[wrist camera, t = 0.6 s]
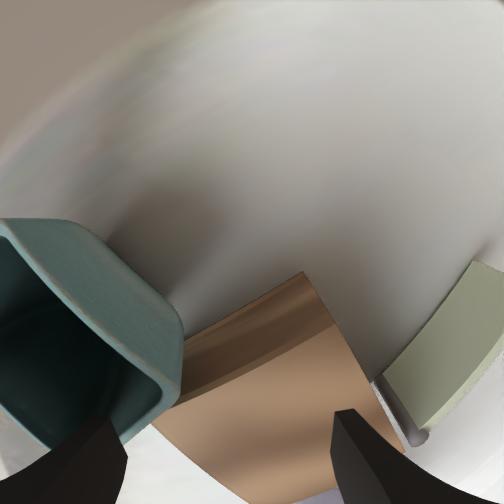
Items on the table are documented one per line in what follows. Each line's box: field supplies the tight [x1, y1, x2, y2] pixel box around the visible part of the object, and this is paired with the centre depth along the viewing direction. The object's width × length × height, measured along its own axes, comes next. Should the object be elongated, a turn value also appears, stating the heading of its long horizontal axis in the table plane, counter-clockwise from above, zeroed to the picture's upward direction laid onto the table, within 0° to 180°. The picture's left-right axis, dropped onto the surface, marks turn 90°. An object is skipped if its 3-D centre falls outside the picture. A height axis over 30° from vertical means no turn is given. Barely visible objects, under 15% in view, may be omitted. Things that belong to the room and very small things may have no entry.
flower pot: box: [0, 218, 184, 451], centre depth 13 cm, size 9×9×9 cm
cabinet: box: [150, 272, 405, 504], centre depth 16 cm, size 10×9×7 cm
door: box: [374, 260, 504, 447], centre depth 15 cm, size 11×1×6 cm, turn 142°
